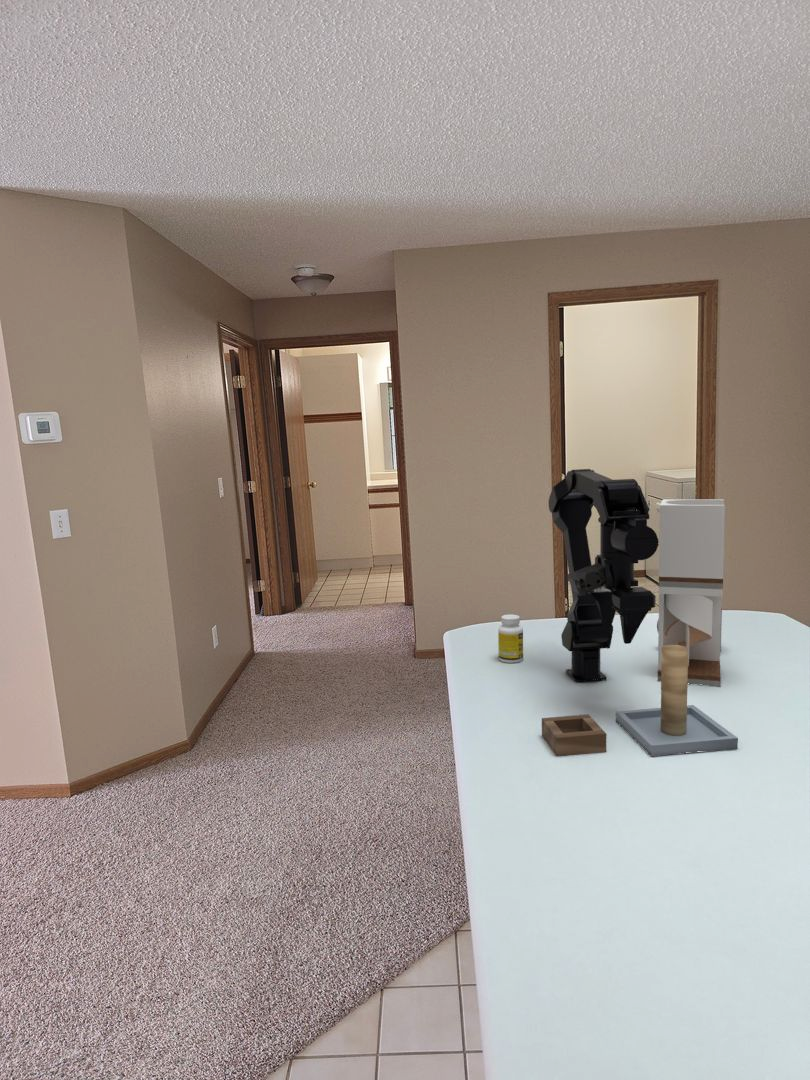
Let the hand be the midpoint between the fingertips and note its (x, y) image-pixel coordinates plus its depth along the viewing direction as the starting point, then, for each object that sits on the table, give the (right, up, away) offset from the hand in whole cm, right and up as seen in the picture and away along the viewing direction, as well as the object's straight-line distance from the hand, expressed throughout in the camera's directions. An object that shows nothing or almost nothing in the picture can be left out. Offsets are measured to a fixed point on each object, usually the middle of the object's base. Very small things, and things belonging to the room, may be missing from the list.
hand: (616, 636), depth 132 cm
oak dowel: (+6, -14, -11) cm, 19 cm away
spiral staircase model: (+19, -10, +16) cm, 27 cm away
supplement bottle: (-15, -9, +30) cm, 35 cm away
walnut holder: (-11, -16, -13) cm, 23 cm away
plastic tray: (+6, -15, -11) cm, 20 cm away
